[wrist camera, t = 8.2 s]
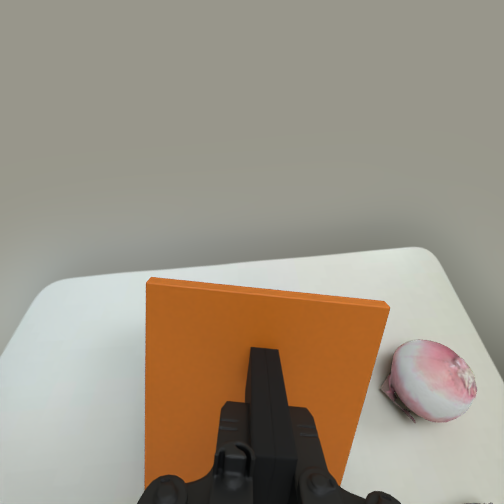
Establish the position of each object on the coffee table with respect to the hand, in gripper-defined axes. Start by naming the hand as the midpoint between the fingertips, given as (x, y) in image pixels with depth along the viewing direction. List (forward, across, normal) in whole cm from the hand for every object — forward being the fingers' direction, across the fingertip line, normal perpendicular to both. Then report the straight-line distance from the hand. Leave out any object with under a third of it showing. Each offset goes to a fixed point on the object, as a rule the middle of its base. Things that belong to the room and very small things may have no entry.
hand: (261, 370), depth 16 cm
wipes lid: (+2, 0, -4) cm, 4 cm away
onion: (+15, +19, -10) cm, 26 cm away
